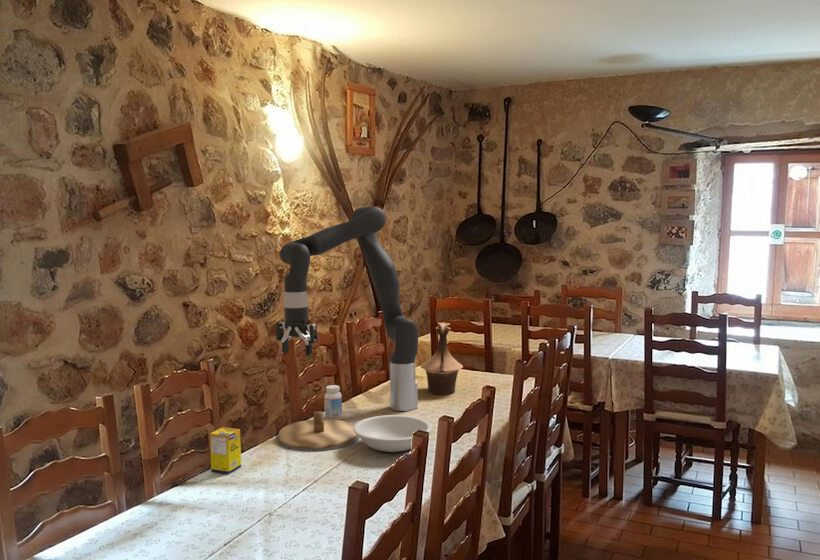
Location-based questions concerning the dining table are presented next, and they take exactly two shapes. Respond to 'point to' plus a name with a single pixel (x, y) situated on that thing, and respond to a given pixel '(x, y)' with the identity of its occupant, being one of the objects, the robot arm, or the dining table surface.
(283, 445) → the disc
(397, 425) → the soup bowl
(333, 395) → the pill bottle
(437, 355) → the pot with conical top
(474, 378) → the dining table surface
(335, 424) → the lid
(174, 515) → the dining table surface
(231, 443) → the supplement box
